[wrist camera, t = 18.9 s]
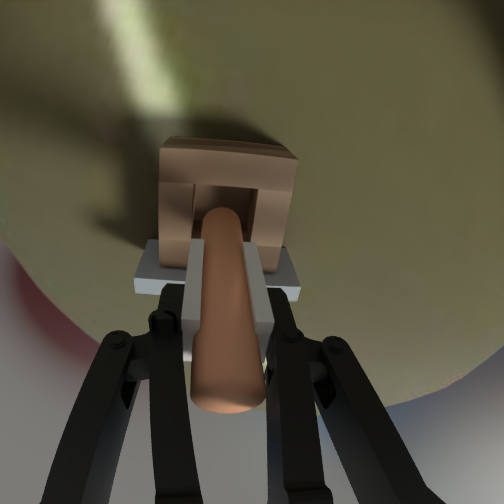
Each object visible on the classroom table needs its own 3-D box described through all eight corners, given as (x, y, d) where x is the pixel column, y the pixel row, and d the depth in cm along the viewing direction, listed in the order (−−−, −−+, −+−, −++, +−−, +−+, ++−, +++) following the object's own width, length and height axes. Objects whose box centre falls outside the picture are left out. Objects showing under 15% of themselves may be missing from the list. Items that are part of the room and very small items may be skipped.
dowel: (203, 205, 21) (188, 374, 9) (242, 208, 21) (273, 375, 9) (201, 240, 22) (191, 412, 10) (238, 242, 23) (260, 413, 11)
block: (170, 136, 23) (159, 147, 19) (285, 146, 25) (298, 159, 21) (167, 238, 28) (159, 266, 24) (267, 244, 30) (275, 272, 26)
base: (148, 239, 28) (133, 277, 23) (286, 247, 31) (300, 286, 25) (149, 252, 29) (135, 292, 24) (283, 260, 31) (296, 301, 26)
